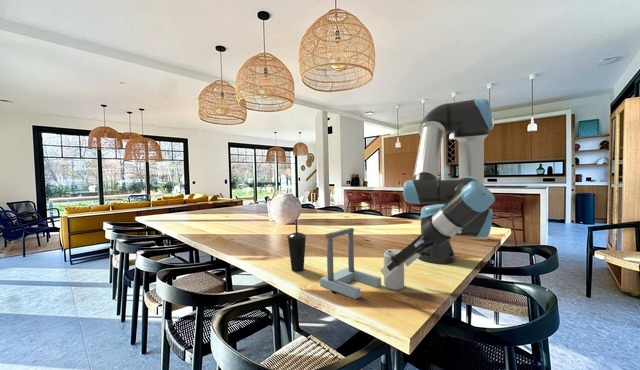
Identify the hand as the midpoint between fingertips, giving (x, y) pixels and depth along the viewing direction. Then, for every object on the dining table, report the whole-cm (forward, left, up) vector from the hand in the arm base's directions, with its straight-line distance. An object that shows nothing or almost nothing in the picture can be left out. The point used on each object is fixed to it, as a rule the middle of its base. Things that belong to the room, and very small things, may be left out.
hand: (394, 268), depth 88 cm
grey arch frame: (+14, -2, -7) cm, 16 cm away
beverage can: (0, -1, -7) cm, 7 cm away
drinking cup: (+35, -17, -7) cm, 40 cm away
